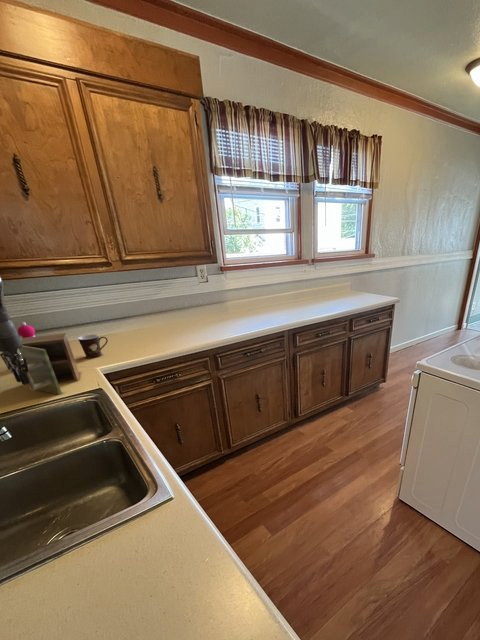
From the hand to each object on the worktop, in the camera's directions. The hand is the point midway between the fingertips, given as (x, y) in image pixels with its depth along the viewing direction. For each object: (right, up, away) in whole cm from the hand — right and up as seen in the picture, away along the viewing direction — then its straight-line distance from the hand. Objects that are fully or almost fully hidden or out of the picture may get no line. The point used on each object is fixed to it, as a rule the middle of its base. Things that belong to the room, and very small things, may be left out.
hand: (23, 382), depth 115 cm
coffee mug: (-4, +16, +48) cm, 51 cm away
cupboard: (-3, +2, +21) cm, 22 cm away
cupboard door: (-1, -4, +8) cm, 10 cm away
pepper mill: (-25, +10, +38) cm, 47 cm away
